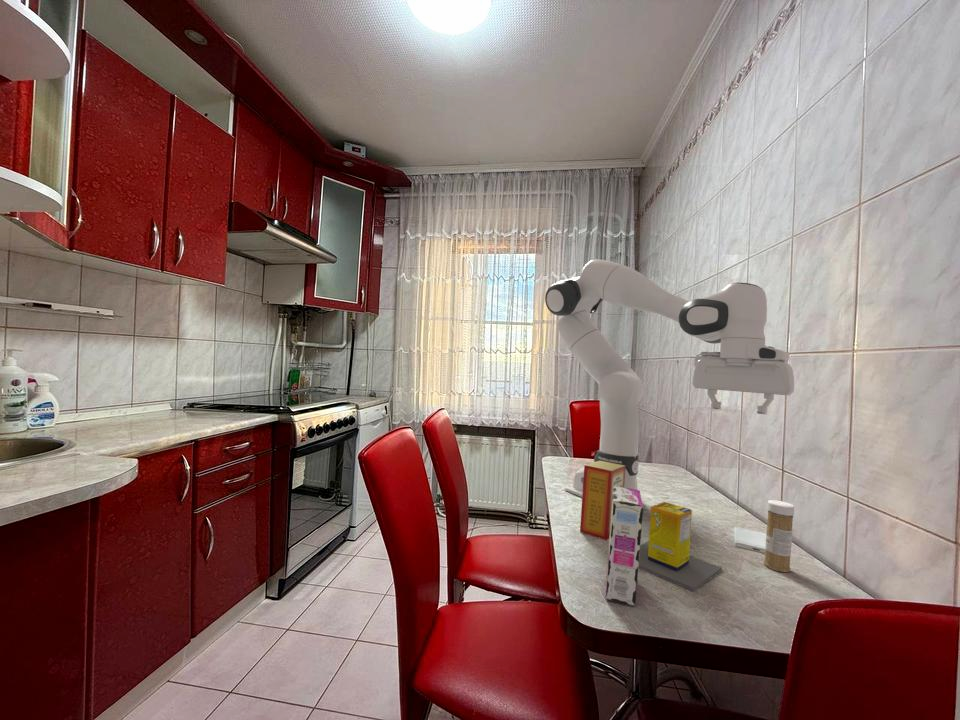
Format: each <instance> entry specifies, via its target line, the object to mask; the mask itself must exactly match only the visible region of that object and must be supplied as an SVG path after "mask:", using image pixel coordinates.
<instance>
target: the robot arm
mask: <svg viewBox="0 0 960 720" xmlns="http://www.w3.org/2000/svg"><path fill="white" fill-rule="evenodd" d="M544 301H545V305H546V307H547V309H548V311H549V312H550V313H551V314H552V315H555V316H558V317H559V318H558V320H557V323H556V327H557V330H558V332H559V334H560V336H561V338H562V340H563V341H564V344H565V345H566V346H567V348H568V349H569V351H570V353H572V354H573V356H574V358H575V359H576V360H577V362H578V363H579V364H580V365H581V367H582V368H583V369H584V371H585V372H586V373H588V375H590V376H591V378H592V379H593V380H594V381H595V383H597V384H598V393H599V413H600V435H599V437H600V439H599V449H598V450H596V451H591V456H592V457H593V456H594V458H593V460H592V462H597V461H605V462H610V463H615V464H620V465H625V466H626V467H625V482H624V488H630V489H635V490H639V489H638V473H639V464H640V463H639V458H640V457H639V453H638V451H639V450H638V449H639V437H640V436H639V435H640V426H639V403H640V401H641V400H642V398H643V396H644V394H645V386H644V383H643V381H642V379H641V378H640V377H639V376H638V374H636V372H635V370H633V369H632V367H631V366H630V365H629V364H628V362H627V361H625V359H624V358H623V357H622V356H621V355H620V354H619V353H618V352H617V350H615V348H614V347H613V346H612V344H611V343H610V342H609V341H608V339H606V337H605V336H604V335H603V332H601V331H600V329H599V328H598V327H597V326H596V324H594V322H593V321H592V319H591V314H594V313H596V312H597V310H598V308H599V306H600V305H601V304H602V302H603V301H606V302H607V303H610V304H613V305H616V306H618V307H623V308H627V309H632V310H638V311H643V312H644V311H645V312H648V313H649V312H650V313H654V314H657V315H660V316H663V317H664V318H667V319H670V320H672V321H675V322H677V323H678V324H679V326H680V328H681V329H682V331H683V332H684V333H686V334H687V335H689V336H691V337H695V338H697V339H699V340H701V341H703V342H705V343H708V344H712V345H713V344H720V346H719V347H720V348H719V351H701V352H700V353H698V354H697V355H695V357H694V361H693V362H694V364H693V365H694V370H693V376H692V386H693V387H694V388H695V389H702V390H703V389H704V390H707V396H708V397H709V399H710V401H711V409H712V410H721V409H722V401H718V399H717V397H716V395H717V394H718V391H728V392H739V393H741V392H742V393H752V394H753V393H755V394H763V399H765V400H764V402H763V403H762V405H757V408H756V409H757V410H756V414H757V415H767V413H768V407H769V406H770V404H772V402H773V401H774V399H775V395H776V396H778V395H779V396H791V395H792V394H793V393H794V392H795V377H794V370H793V367H792V366H791V364H790V363H788V362H789V360H790V353H789V352H787V351H785V350H782V349H778V348H776V347H773V346H766V345H767V344H766V335H765V330H764V329H765V326H766V323H767V316H768V315H767V314H768V313H767V312H768V306H767V305H768V304H767V303H768V302H767V301H768V300H767V295H766V292H765V290H764V289H763V288H762V287H760V286H758V285H756V284H754V283H749V282H731V283H728V284H727V285H726V286H725V287H723V288H722V289H720V290H719V291H716V292H714V293H711V294H709V295H707V296H703V297H699V298H694V299H691V300H687V299H685V298H682V297H680V296H676V295H674V294H672V293H670V292H668V291H666V290H664V289H663V288H661V287H660V286H659V285H658V284H657V283H655V282H654V281H652V280H651V279H649V278H648V277H646V276H645V275H644V274H642V273H641V272H639V271H638V270H636V269H634V268H632V267H629V266H627V265H625V264H621V263H618V262H614V261H611V260H605V259H592V260H590V261H588V262H587V263H586V264H585V265H584V266H583V268H582V270H581V273H580V276H573V277H570V278H567V279H563V280H559V281H557V282H556V283H553V284H552V285H550V286H549V287H548V288H547V290H546V292H545V296H544ZM592 462H590V463H592ZM583 480H584V466H583V467H581V468H579V469H578V470H577V471H576V472H575V475H574V477H573V482H572V483H569V484H567V485H566V486H565V488H564V489H565V491H566V492H568V493H571V494H573V495H576V496H578V497H580V498H582V494H583Z"/></svg>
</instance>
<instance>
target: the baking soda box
mask: <svg viewBox="0 0 960 720" xmlns="http://www.w3.org/2000/svg"><path fill="white" fill-rule="evenodd" d="M583 467H584V480H583V494H582V497H581V511H580V514H581V515H580V527H579V532H580V533H581V534H582V533H583V534H585V535H589V536H592V537H595V538H599V539H601V540H604V541H609V536H610V523H611V511H612V499H613V489H614V486H616V487H623V488H624V482H625V467H626V466H625V465H620V464H615V463H610V462H605V461H597V462H593V461H592V463H591V462H589V463H587V464H585V465H584V466H583Z"/></svg>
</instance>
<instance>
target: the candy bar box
mask: <svg viewBox="0 0 960 720" xmlns="http://www.w3.org/2000/svg"><path fill="white" fill-rule="evenodd" d="M643 515H644V504H643V500H642V496H641V492H640V489H638V490H635V489H630V488H623V487H616V486H614V489H613V499H612V511H611V523H610V536H609V539H608V552H607V563H606V564H607V565H606V581H605V586H606V587H605V600H607V601H611V602H615V603H619V604H623V605H625V606H630V607H636V601H637V590H638V589H637V588H638V578H639V568H638V567H639V554H640V545H641V539H642V528H643V527H642V526H643Z"/></svg>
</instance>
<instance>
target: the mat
mask: <svg viewBox="0 0 960 720" xmlns="http://www.w3.org/2000/svg"><path fill="white" fill-rule="evenodd" d="M648 550H649V540H648V541H646V542H644V543H642V544H640V554H639V567H638V569H640V570H642V571H645V572H647V573H650V574H652V575H654V576H656V577H659V578H661V579H662V580H663V579H664V580H666V581H668V582H671V583H673V584H675V585H678V586H679V587H682V588H684V589H686V590H689V591H691V592H695V591H696V590H698V589H699V588H700V587H702V586H704V584H706V583H707V582H709V580H711V579H712V578H714V577H715V576H716V574H717V573H718V574H719V573H721V572H722V571H723V567H722V566H719V565H716V564H714V563H711V562H708V561H705V560H702V559H699V558H697V557H694V556H692V555H689V564H687V565H686V566H684V567H683V568H681V569H680V570H678V571H674V570H671V569H669V568H666V567H664V566H661V565H659V564H656V563H654V562H651V561H649V560H648ZM721 570H722V571H721ZM720 571H721V572H720ZM718 574H717V575H718Z"/></svg>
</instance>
